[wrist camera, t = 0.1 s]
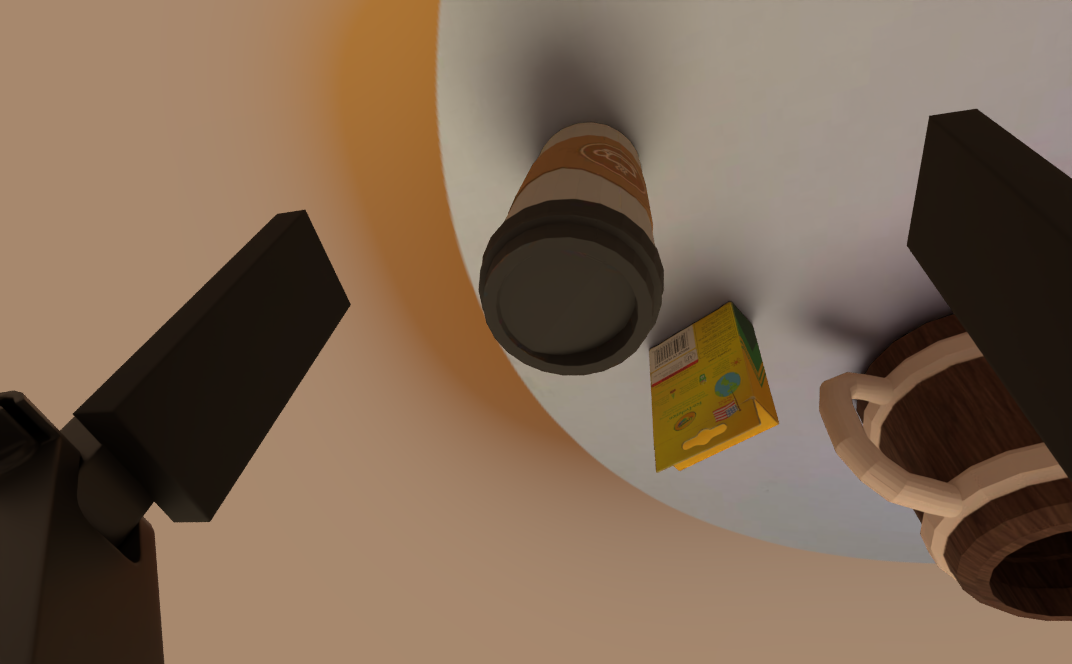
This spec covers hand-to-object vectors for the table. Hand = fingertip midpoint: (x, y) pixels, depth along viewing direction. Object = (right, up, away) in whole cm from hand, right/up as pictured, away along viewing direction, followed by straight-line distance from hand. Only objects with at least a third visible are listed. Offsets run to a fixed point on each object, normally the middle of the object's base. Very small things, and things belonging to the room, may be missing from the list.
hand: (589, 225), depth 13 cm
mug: (+27, -5, +30) cm, 41 cm away
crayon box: (+11, -3, +31) cm, 33 cm away
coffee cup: (+2, +8, +24) cm, 25 cm away
